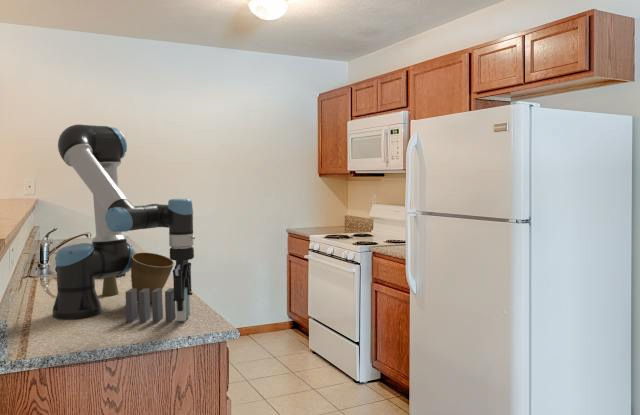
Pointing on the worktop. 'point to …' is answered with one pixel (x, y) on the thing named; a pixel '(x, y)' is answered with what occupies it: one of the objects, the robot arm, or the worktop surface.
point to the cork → (110, 286)
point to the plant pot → (149, 271)
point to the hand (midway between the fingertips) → (183, 317)
